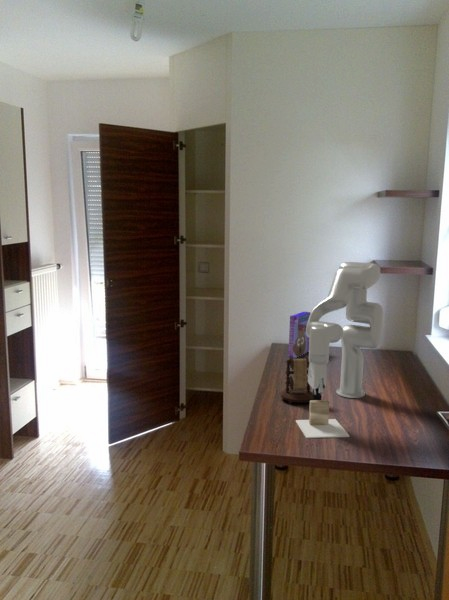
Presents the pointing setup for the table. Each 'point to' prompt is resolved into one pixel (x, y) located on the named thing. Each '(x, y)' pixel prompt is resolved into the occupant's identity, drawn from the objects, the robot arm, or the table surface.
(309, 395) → the brown wooden ornament
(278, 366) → the table surface
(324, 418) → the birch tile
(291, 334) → the cereal box
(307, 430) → the rubber mat
